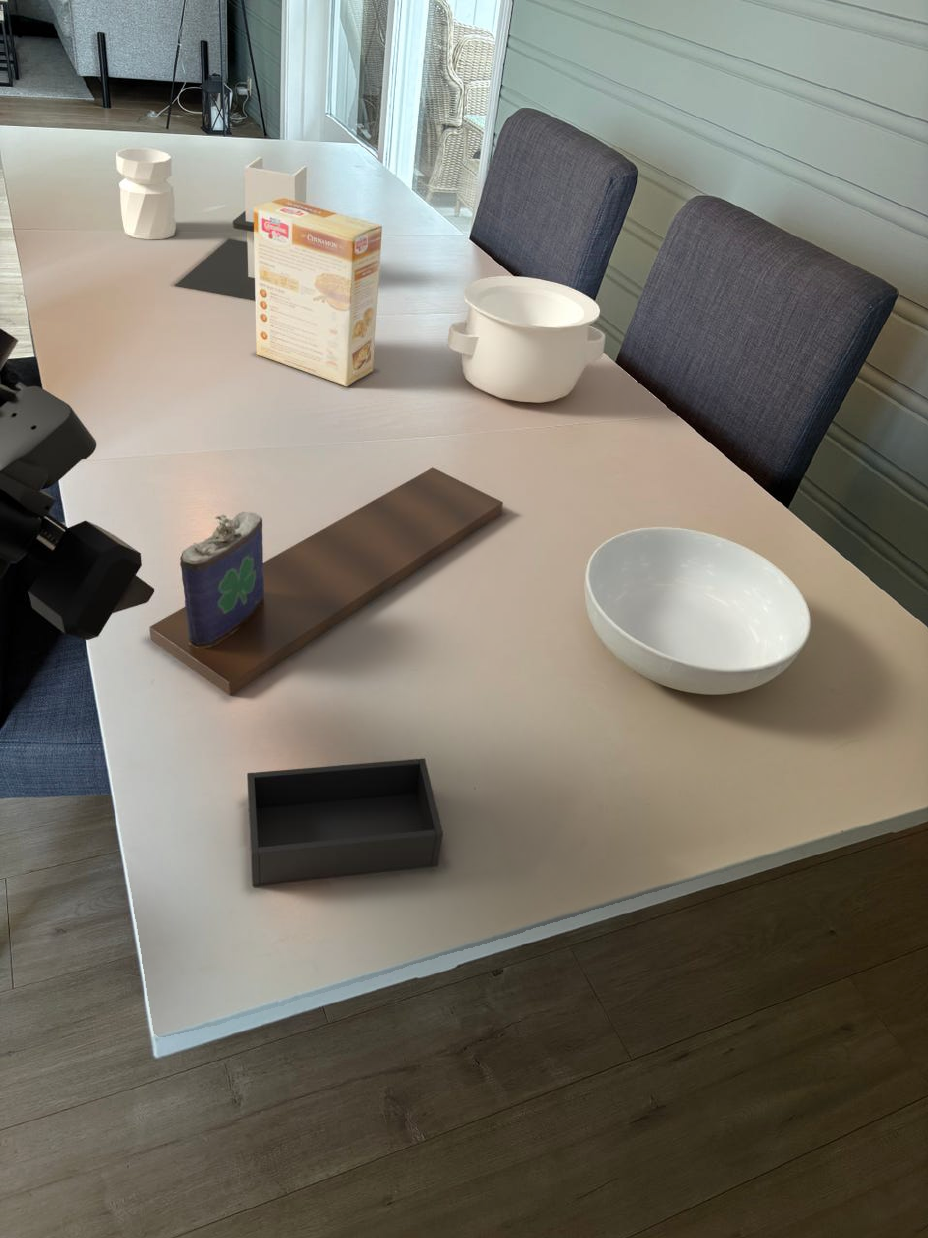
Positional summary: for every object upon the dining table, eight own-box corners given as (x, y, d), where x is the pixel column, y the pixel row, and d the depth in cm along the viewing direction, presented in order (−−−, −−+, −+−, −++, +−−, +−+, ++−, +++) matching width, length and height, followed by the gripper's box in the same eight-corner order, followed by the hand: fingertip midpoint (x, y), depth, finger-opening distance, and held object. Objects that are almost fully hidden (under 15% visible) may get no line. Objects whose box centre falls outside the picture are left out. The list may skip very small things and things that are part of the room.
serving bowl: (534, 598, 91) (546, 542, 87) (703, 567, 99) (722, 514, 95) (645, 748, 77) (667, 690, 73) (831, 697, 85) (861, 642, 81)
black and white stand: (368, 263, 158) (374, 161, 148) (332, 314, 140) (336, 201, 129) (228, 238, 159) (224, 135, 149) (174, 285, 140) (165, 171, 130)
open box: (252, 886, 62) (251, 854, 60) (248, 805, 68) (247, 772, 65) (437, 865, 66) (443, 834, 63) (420, 789, 71) (424, 758, 68)
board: (229, 695, 76) (229, 683, 75) (150, 639, 80) (148, 626, 79) (501, 513, 102) (503, 502, 101) (431, 478, 106) (432, 466, 105)
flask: (248, 587, 85) (245, 489, 78) (274, 599, 84) (273, 500, 77) (180, 641, 78) (170, 539, 71) (208, 655, 77) (200, 552, 70)
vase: (130, 240, 153) (122, 162, 145) (117, 223, 158) (109, 147, 151) (182, 238, 156) (177, 162, 149) (168, 221, 162) (163, 147, 154)
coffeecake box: (374, 370, 126) (384, 224, 114) (346, 388, 121) (353, 237, 109) (285, 339, 130) (285, 195, 118) (254, 355, 125) (251, 205, 113)
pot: (573, 361, 137) (590, 279, 130) (611, 416, 125) (633, 330, 117) (430, 357, 132) (439, 272, 124) (455, 414, 119) (467, 324, 111)
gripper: (92, 430, 48) (256, 525, 62) (-98, 312, 55) (88, 421, 69) (-21, 613, 47) (170, 666, 62) (-195, 469, 55) (11, 546, 69)
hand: (108, 565), depth 66 cm, fingers open, 9 cm apart
